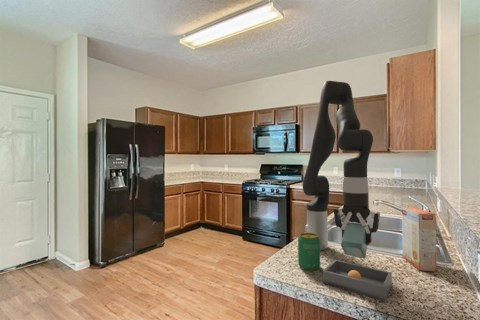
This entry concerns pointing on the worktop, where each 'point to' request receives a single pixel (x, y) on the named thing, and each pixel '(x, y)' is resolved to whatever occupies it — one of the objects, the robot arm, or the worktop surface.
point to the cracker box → (419, 238)
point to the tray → (369, 285)
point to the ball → (354, 274)
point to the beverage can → (309, 251)
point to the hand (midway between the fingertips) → (356, 242)
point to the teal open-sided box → (354, 240)
